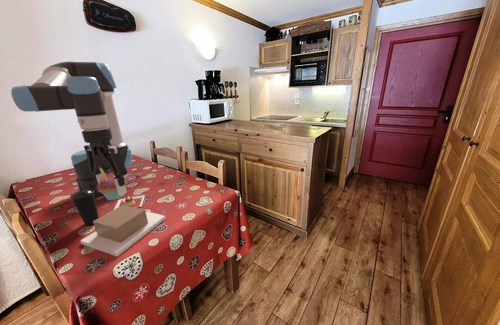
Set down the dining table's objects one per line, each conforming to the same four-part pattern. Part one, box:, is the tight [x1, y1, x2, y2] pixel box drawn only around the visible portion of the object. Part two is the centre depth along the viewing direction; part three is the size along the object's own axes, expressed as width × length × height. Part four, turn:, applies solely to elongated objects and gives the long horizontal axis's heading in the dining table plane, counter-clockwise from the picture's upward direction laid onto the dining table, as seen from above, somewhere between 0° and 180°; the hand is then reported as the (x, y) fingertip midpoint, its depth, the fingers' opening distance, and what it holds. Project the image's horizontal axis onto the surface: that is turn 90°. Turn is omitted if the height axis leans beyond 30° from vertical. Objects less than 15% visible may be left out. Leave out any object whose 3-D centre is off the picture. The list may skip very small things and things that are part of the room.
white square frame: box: [113, 194, 146, 210], centre depth 98 cm, size 12×12×5 cm
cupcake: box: [97, 167, 127, 201], centre depth 71 cm, size 9×8×12 cm
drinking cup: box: [69, 177, 100, 227], centre depth 82 cm, size 8×8×20 cm
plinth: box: [80, 204, 167, 257], centre depth 78 cm, size 18×22×8 cm
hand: (113, 191), depth 73 cm, fingers closed on cupcake, 8 cm apart
